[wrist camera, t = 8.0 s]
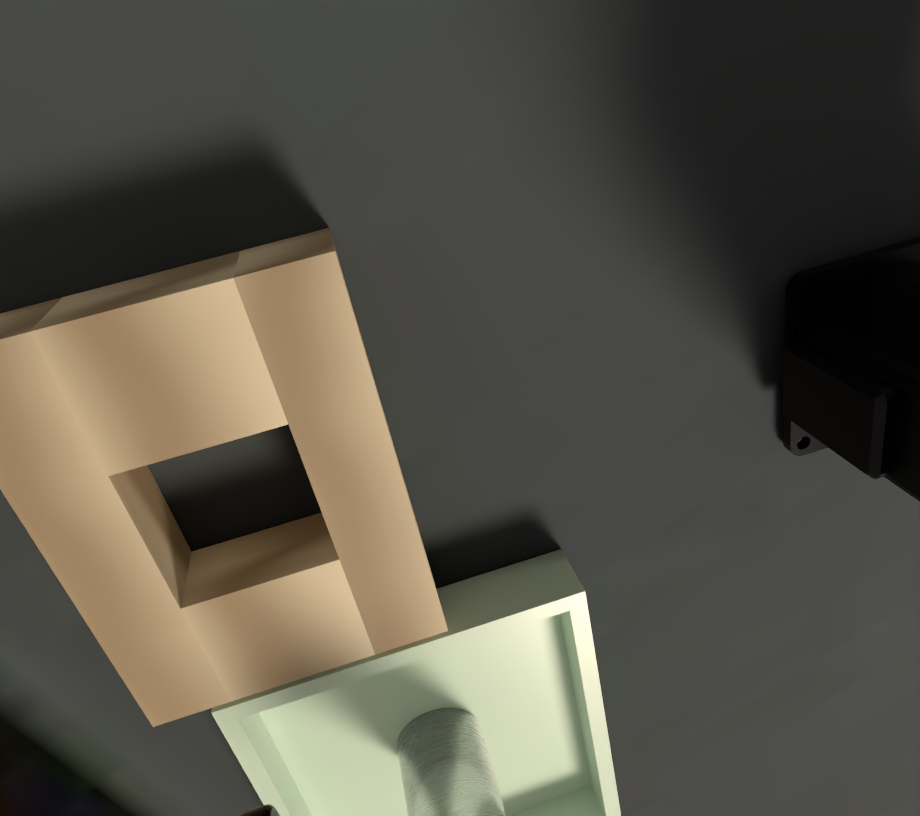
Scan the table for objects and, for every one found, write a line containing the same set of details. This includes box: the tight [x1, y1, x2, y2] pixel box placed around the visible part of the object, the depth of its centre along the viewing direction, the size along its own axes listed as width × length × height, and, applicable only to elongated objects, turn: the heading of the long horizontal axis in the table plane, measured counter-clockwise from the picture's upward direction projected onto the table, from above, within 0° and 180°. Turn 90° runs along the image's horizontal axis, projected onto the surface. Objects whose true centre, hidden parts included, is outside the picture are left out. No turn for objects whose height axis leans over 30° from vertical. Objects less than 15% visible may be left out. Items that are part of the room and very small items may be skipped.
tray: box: [211, 549, 621, 816], centre depth 26 cm, size 12×13×2 cm
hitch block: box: [0, 228, 448, 727], centre depth 19 cm, size 9×12×2 cm
